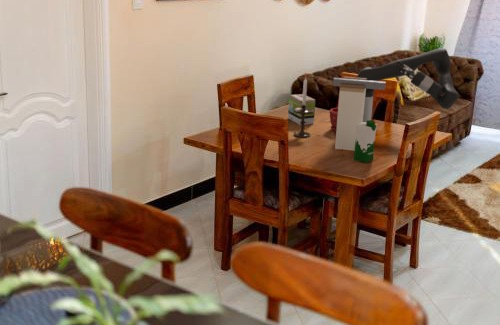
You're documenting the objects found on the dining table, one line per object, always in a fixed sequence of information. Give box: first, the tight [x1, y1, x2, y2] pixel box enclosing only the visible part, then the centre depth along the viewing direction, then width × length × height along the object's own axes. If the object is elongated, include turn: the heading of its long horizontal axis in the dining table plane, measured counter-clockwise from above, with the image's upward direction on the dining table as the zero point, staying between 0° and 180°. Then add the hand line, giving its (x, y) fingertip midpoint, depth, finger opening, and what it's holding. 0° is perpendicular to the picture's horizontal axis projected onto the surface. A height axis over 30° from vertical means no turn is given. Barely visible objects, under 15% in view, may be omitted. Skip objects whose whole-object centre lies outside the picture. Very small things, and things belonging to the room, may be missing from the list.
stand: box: [334, 76, 367, 151], centre depth 355 cm, size 12×24×34 cm, turn 168°
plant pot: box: [329, 107, 338, 132], centre depth 383 cm, size 13×13×12 cm
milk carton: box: [353, 119, 378, 164], centre depth 332 cm, size 9×9×20 cm
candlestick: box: [293, 72, 314, 139], centre depth 366 cm, size 11×11×35 cm
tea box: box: [287, 93, 316, 126], centre depth 398 cm, size 15×10×15 cm
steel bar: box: [332, 77, 387, 91], centre depth 343 cm, size 26×4×4 cm, turn 78°
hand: (396, 63), depth 350 cm, fingers open, 8 cm apart
